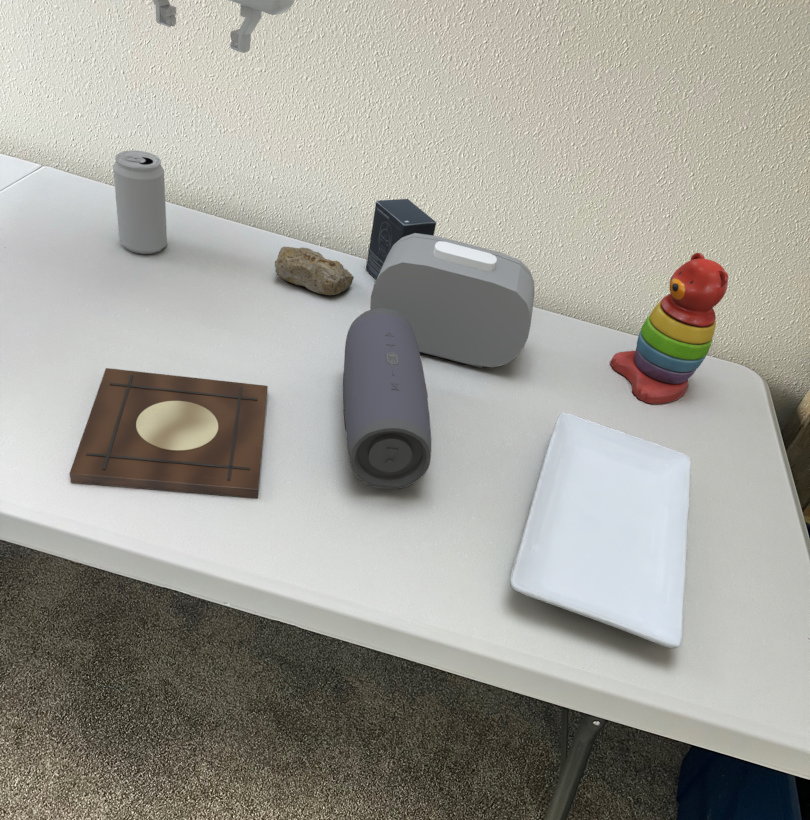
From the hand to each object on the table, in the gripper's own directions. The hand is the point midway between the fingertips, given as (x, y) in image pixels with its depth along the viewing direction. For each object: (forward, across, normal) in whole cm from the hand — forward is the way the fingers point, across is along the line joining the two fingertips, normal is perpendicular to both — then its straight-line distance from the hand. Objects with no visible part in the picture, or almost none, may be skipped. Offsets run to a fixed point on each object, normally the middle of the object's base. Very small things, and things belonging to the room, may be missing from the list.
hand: (202, 37), depth 87 cm
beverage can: (+29, -11, +3) cm, 32 cm away
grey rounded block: (+29, +34, +7) cm, 45 cm away
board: (+29, +16, -30) cm, 45 cm away
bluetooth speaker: (+29, +34, -16) cm, 48 cm away
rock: (+29, +12, +10) cm, 33 cm away
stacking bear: (+29, +62, +18) cm, 70 cm away
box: (+29, +21, +19) cm, 41 cm away
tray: (+29, +62, -18) cm, 71 cm away
